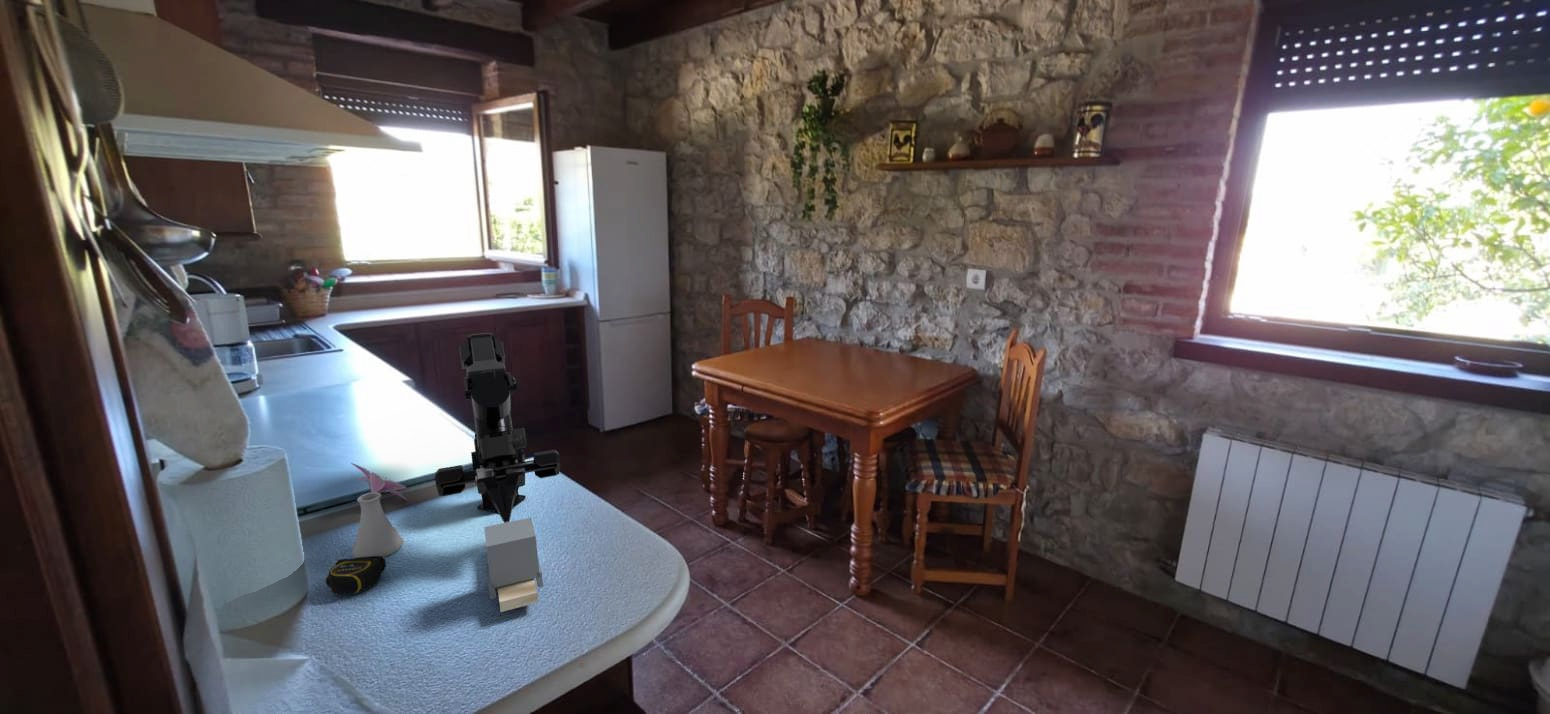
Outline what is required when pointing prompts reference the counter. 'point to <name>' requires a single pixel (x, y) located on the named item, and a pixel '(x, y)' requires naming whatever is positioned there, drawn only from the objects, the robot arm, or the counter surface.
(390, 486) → the lily
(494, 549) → the block
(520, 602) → the beam
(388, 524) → the flask
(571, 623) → the counter surface
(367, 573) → the tape measure
